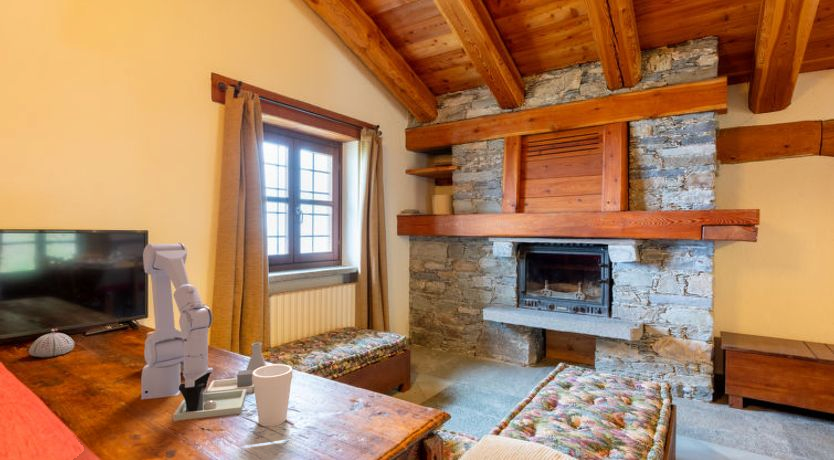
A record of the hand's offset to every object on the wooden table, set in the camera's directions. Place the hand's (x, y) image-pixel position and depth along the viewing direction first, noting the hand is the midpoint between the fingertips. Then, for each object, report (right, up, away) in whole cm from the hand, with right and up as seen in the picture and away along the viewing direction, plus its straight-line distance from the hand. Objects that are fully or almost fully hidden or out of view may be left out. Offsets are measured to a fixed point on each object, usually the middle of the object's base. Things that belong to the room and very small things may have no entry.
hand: (196, 404), depth 110 cm
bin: (+4, -2, +1) cm, 4 cm away
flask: (+5, -2, +28) cm, 28 cm away
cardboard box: (-25, -2, +34) cm, 42 cm away
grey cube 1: (+7, -1, +15) cm, 16 cm away
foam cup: (+23, -2, -7) cm, 24 cm away
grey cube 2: (0, -1, 0) cm, 1 cm away
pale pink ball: (+5, -1, -2) cm, 5 cm away
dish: (+4, -2, +14) cm, 14 cm away
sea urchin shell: (-83, -2, +50) cm, 96 cm away
